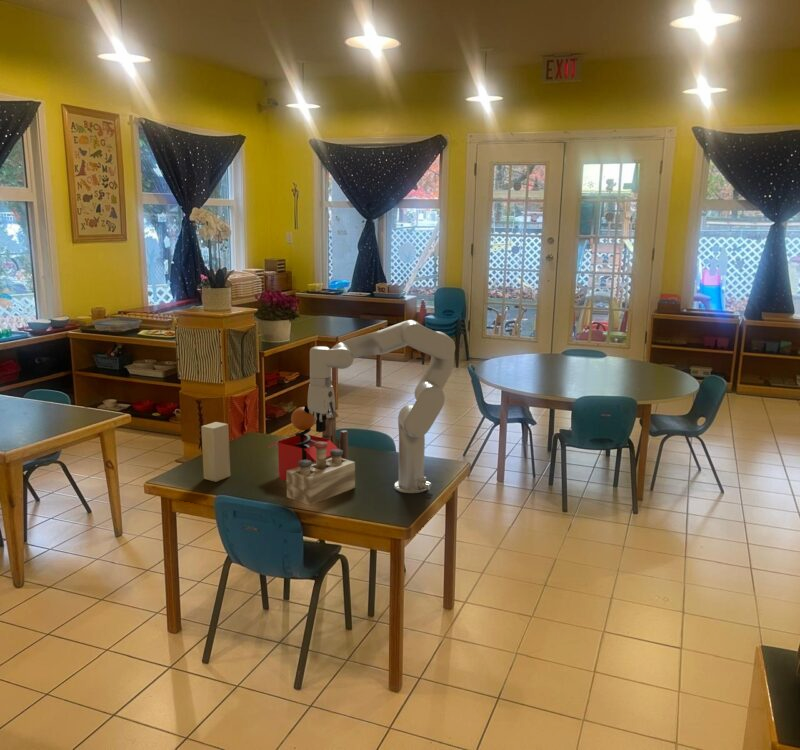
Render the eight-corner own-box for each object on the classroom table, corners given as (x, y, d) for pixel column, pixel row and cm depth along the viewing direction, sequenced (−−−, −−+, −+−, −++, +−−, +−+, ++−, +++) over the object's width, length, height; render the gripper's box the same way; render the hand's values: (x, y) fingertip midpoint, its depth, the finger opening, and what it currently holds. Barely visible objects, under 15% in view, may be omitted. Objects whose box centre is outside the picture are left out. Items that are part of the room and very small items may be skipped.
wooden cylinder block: (355, 487, 274) (354, 462, 272) (310, 505, 256) (309, 478, 254) (331, 480, 281) (331, 455, 279) (286, 497, 264) (286, 470, 262)
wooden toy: (333, 471, 291) (332, 410, 285) (318, 469, 293) (317, 409, 288) (349, 460, 305) (348, 401, 300) (334, 458, 307) (333, 400, 302)
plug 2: (345, 474, 274) (345, 450, 272) (336, 477, 271) (336, 453, 269) (336, 471, 277) (336, 448, 275) (328, 475, 274) (327, 451, 272)
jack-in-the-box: (343, 477, 284) (342, 402, 278) (316, 489, 272) (314, 410, 266) (294, 464, 299) (292, 392, 293) (266, 475, 286) (264, 400, 280)
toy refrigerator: (217, 472, 288) (214, 421, 284) (231, 476, 285) (228, 423, 280) (202, 478, 282) (199, 425, 277) (216, 482, 278) (213, 428, 274)
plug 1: (314, 486, 262) (314, 461, 260) (305, 489, 259) (304, 464, 257) (305, 483, 265) (305, 458, 263) (296, 486, 261) (295, 462, 259)
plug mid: (330, 467, 267) (330, 443, 265) (321, 470, 264) (320, 446, 262) (321, 464, 270) (320, 440, 268) (312, 467, 266) (311, 443, 264)
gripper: (343, 382, 258) (343, 433, 262) (313, 376, 268) (313, 425, 272) (328, 386, 253) (328, 437, 257) (298, 379, 262) (298, 429, 266)
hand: (320, 431), depth 264 cm, fingers closed
